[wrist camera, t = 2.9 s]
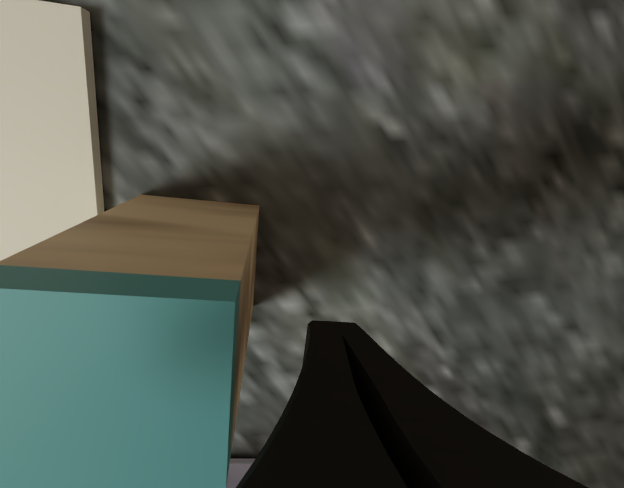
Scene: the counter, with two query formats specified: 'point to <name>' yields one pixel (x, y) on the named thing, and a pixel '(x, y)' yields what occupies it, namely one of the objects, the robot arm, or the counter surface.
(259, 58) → the counter surface
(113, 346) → the wooden block
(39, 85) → the board
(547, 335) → the counter surface
